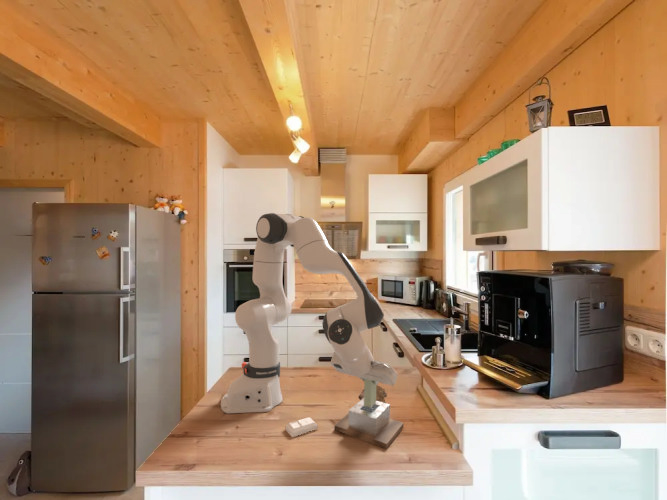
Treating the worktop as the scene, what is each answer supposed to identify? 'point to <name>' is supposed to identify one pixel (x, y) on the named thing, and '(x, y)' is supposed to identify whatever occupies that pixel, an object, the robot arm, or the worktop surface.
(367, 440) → the walnut board
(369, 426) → the grey slotted block
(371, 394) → the sage slat
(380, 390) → the wooden fragment
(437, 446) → the worktop surface
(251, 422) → the worktop surface
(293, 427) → the soap bar
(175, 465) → the worktop surface
